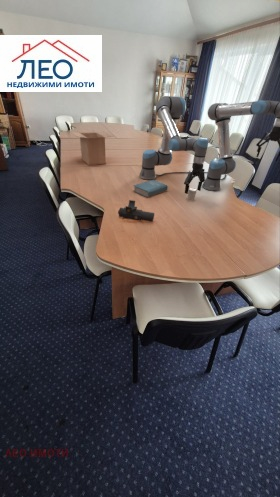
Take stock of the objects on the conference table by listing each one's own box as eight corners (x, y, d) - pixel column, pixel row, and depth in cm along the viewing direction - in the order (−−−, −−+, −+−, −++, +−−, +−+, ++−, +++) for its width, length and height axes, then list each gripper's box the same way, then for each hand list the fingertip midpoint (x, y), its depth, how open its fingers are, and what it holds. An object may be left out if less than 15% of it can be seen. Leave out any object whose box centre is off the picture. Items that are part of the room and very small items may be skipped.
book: (152, 185, 190) (153, 179, 187) (167, 191, 181) (167, 185, 178) (133, 191, 176) (133, 185, 173) (147, 198, 167) (148, 191, 164)
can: (189, 197, 174) (192, 187, 169) (195, 199, 171) (198, 189, 166) (185, 199, 171) (187, 189, 166) (191, 201, 167) (193, 191, 163)
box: (116, 165, 229) (116, 136, 213) (83, 168, 214) (80, 137, 198) (102, 154, 259) (101, 128, 243) (71, 156, 244) (68, 129, 228)
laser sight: (151, 225, 135) (153, 210, 129) (116, 219, 138) (116, 205, 132) (154, 218, 142) (155, 203, 137) (120, 212, 145) (120, 198, 139)
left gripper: (189, 166, 146) (184, 196, 158) (214, 162, 158) (207, 190, 170) (181, 163, 150) (177, 193, 163) (206, 159, 163) (199, 187, 175)
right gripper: (258, 123, 153) (248, 155, 166) (298, 129, 141) (284, 163, 154) (261, 123, 158) (251, 154, 171) (300, 128, 146) (286, 161, 159)
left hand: (192, 191), depth 167 cm, fingers open, 13 cm apart
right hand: (266, 158), depth 162 cm, fingers open, 13 cm apart
